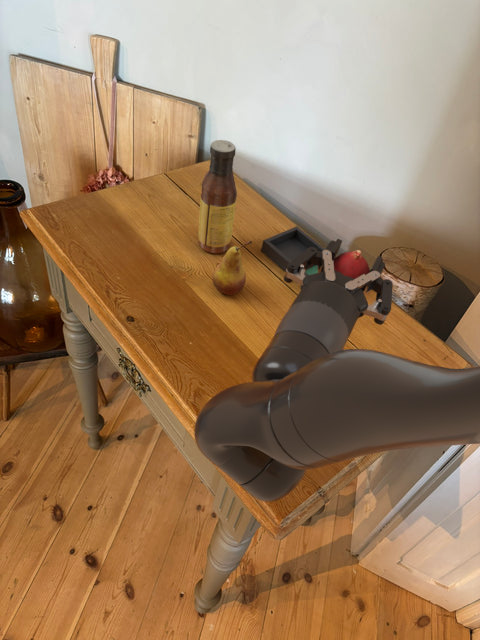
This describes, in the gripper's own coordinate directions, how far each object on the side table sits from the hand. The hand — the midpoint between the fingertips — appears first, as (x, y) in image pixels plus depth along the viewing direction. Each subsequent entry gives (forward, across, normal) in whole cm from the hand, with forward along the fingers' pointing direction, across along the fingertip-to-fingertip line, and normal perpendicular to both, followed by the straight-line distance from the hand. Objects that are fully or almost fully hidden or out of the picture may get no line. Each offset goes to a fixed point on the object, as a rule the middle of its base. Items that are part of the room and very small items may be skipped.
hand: (357, 253), depth 63 cm
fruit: (0, +18, +18) cm, 25 cm away
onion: (-2, 0, +6) cm, 7 cm away
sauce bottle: (+9, +26, +18) cm, 33 cm away
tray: (+14, +8, +18) cm, 24 cm away
